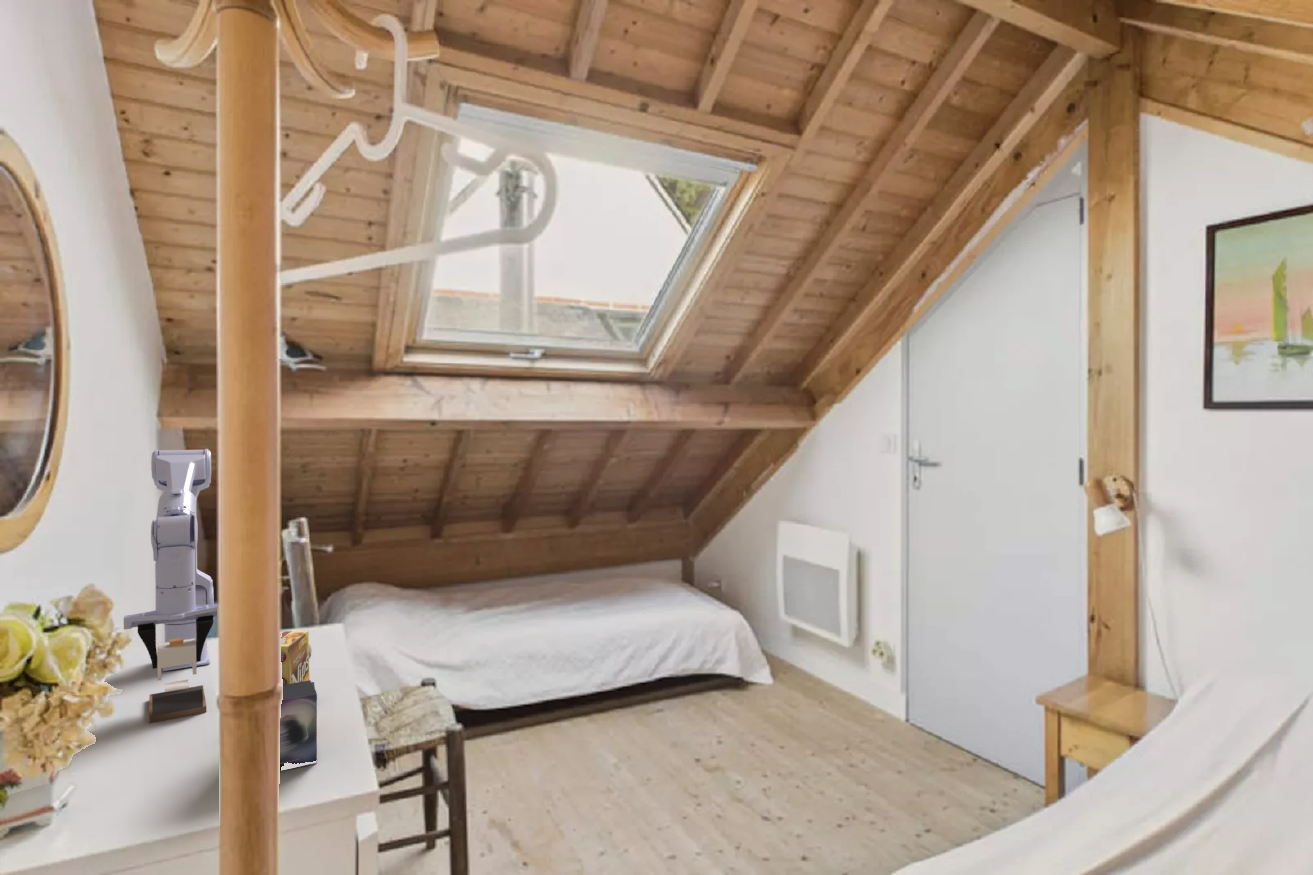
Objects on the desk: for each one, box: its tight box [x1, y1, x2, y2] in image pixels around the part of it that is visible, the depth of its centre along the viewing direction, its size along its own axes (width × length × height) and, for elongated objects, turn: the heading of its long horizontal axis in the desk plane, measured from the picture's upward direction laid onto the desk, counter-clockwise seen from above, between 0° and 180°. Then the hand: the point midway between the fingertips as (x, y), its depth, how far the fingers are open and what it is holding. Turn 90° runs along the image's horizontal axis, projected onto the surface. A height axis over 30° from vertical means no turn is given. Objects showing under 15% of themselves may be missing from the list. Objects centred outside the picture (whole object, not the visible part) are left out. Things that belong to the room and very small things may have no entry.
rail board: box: [148, 679, 207, 724], centre depth 125 cm, size 12×8×4 cm, turn 35°
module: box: [156, 638, 197, 681], centre depth 125 cm, size 5×6×6 cm
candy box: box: [281, 630, 310, 685], centre depth 113 cm, size 9×4×15 cm, turn 8°
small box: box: [280, 679, 318, 772], centre depth 103 cm, size 11×6×10 cm, turn 123°
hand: (176, 663), depth 125 cm, fingers closed on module, 5 cm apart
